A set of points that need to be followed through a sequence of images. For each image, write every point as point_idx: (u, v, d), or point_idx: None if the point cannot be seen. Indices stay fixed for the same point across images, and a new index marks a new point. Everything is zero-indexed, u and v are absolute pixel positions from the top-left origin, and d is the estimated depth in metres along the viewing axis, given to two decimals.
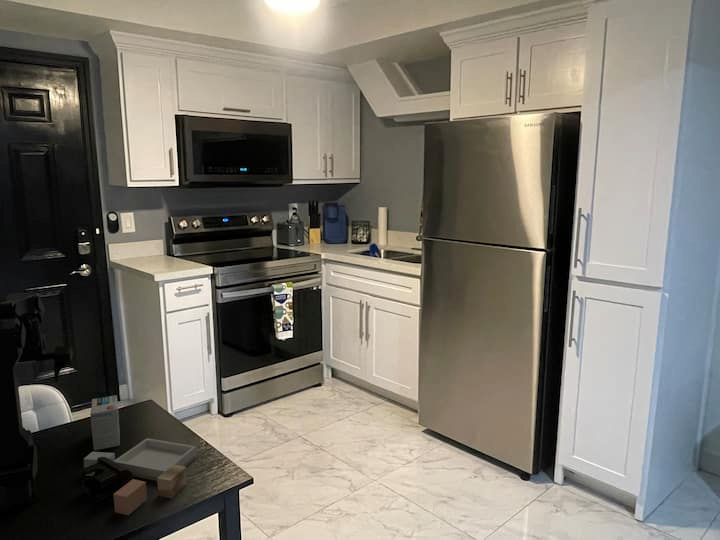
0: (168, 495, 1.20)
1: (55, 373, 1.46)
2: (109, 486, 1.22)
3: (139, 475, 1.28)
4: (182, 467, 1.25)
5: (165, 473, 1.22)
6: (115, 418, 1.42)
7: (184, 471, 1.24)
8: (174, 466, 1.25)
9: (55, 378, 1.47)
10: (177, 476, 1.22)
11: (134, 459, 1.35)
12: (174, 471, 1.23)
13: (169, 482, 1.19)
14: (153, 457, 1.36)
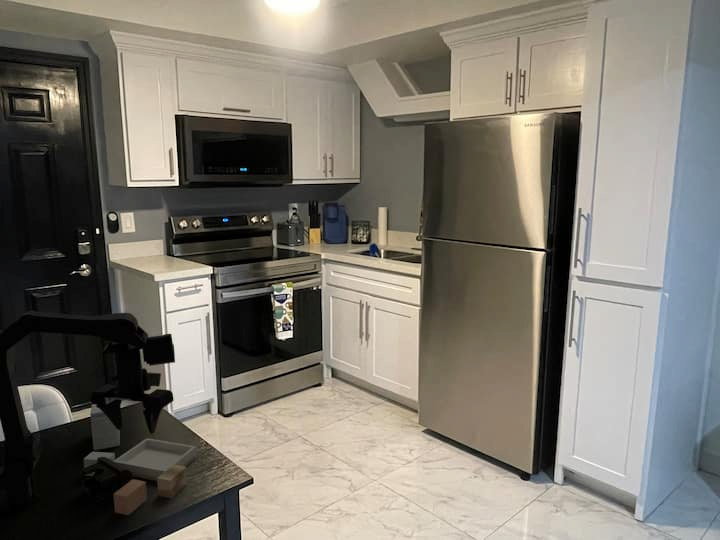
0: (168, 495, 1.20)
1: (146, 420, 1.20)
2: (109, 486, 1.22)
3: (139, 475, 1.28)
4: (182, 467, 1.25)
5: (165, 473, 1.22)
6: None
7: (184, 471, 1.24)
8: (174, 466, 1.25)
9: (148, 427, 1.21)
10: (178, 476, 1.22)
11: (134, 459, 1.35)
12: (174, 471, 1.23)
13: (169, 482, 1.19)
14: (153, 457, 1.36)
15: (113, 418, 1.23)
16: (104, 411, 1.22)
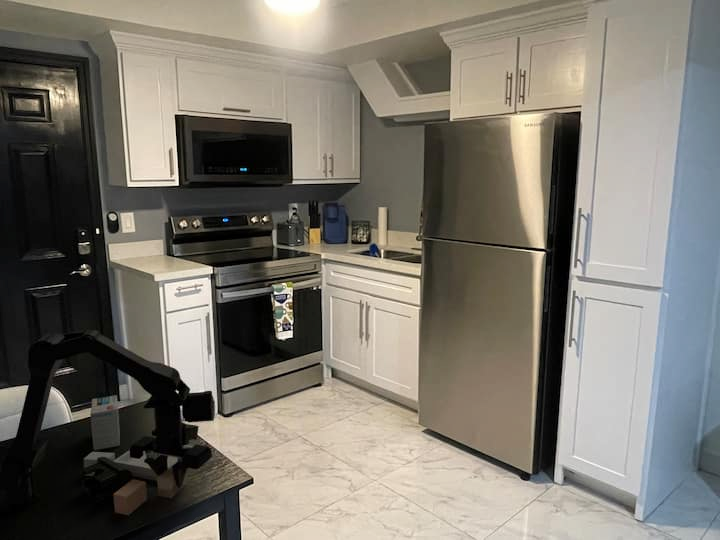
0: (168, 495, 1.20)
1: (175, 475, 1.20)
2: (109, 486, 1.22)
3: (139, 475, 1.28)
4: None
5: (165, 473, 1.22)
6: (115, 418, 1.42)
7: None
8: None
9: (176, 482, 1.21)
10: None
11: (134, 459, 1.35)
12: None
13: (169, 482, 1.19)
14: None
15: (160, 474, 1.22)
16: (152, 467, 1.21)
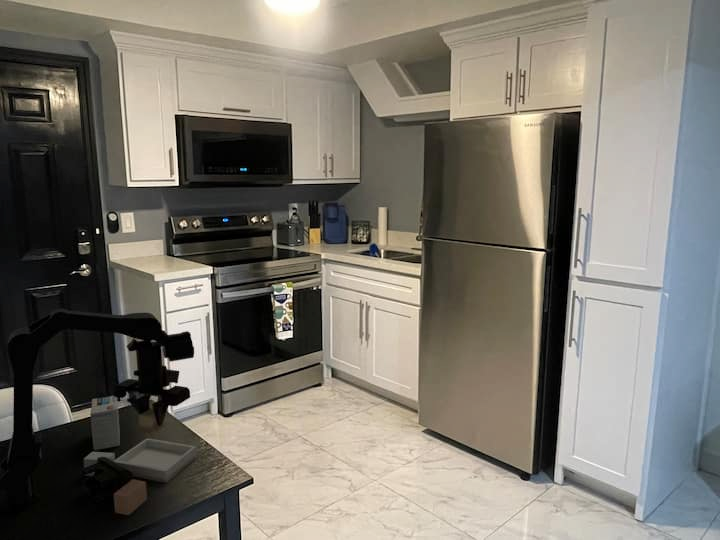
0: (149, 431, 1.28)
1: (155, 413, 1.28)
2: (109, 486, 1.22)
3: (139, 475, 1.28)
4: None
5: (147, 412, 1.30)
6: (115, 418, 1.42)
7: None
8: None
9: (156, 420, 1.29)
10: None
11: (134, 459, 1.35)
12: None
13: (149, 419, 1.28)
14: (153, 457, 1.36)
15: (142, 412, 1.30)
16: (134, 405, 1.29)
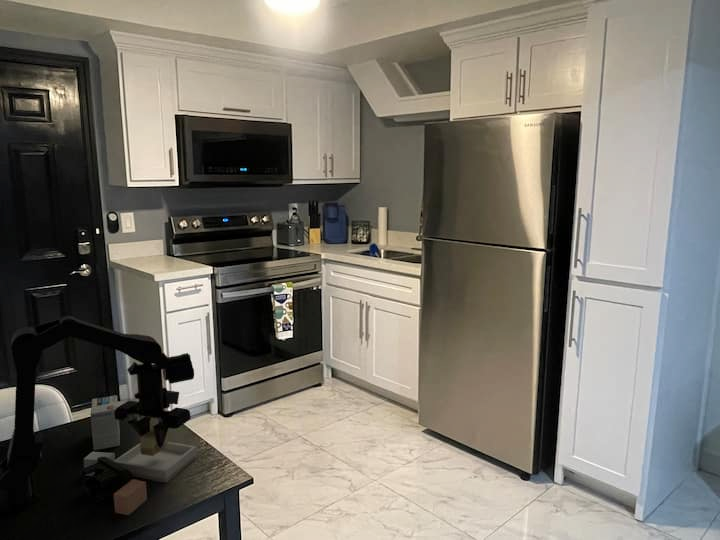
0: (150, 453, 1.30)
1: (156, 435, 1.30)
2: (109, 486, 1.22)
3: (139, 475, 1.28)
4: None
5: (147, 433, 1.32)
6: None
7: None
8: None
9: (157, 441, 1.31)
10: None
11: (134, 459, 1.35)
12: None
13: (150, 441, 1.29)
14: (153, 457, 1.36)
15: (143, 434, 1.32)
16: (135, 427, 1.31)
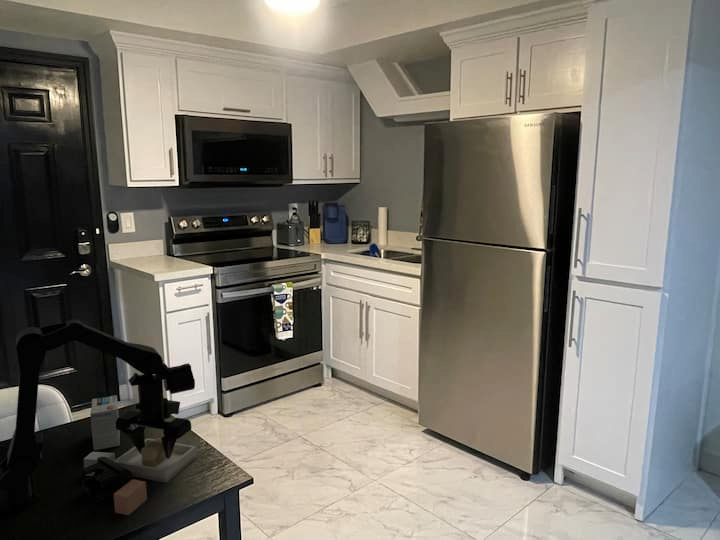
0: (151, 465, 1.31)
1: (164, 447, 1.30)
2: (109, 486, 1.22)
3: (139, 475, 1.28)
4: None
5: (148, 445, 1.33)
6: (115, 418, 1.42)
7: None
8: (157, 439, 1.36)
9: (165, 453, 1.31)
10: (160, 448, 1.33)
11: (134, 459, 1.35)
12: (157, 443, 1.34)
13: (152, 453, 1.30)
14: None
15: (137, 443, 1.33)
16: (129, 437, 1.32)
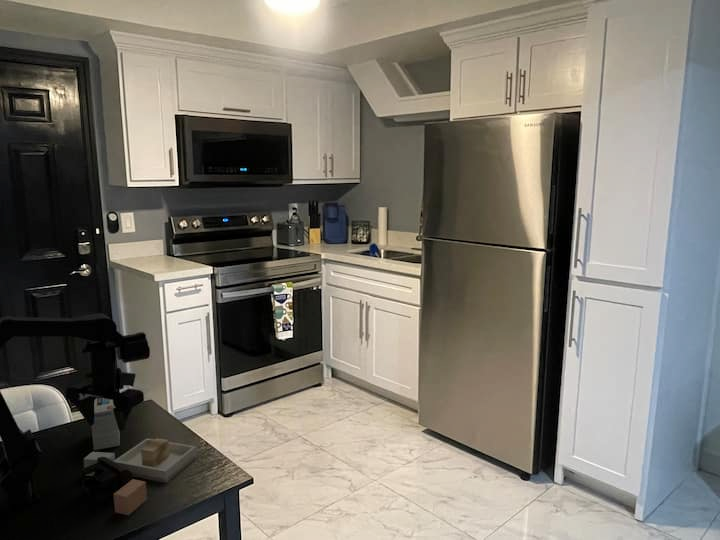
0: (151, 465, 1.31)
1: (116, 418, 1.24)
2: (109, 486, 1.22)
3: (139, 475, 1.28)
4: (164, 440, 1.35)
5: (148, 445, 1.33)
6: (115, 418, 1.42)
7: (166, 444, 1.35)
8: (157, 439, 1.36)
9: (118, 425, 1.26)
10: (160, 448, 1.33)
11: (134, 459, 1.35)
12: (157, 443, 1.34)
13: (152, 453, 1.30)
14: None
15: (85, 414, 1.28)
16: (77, 406, 1.27)
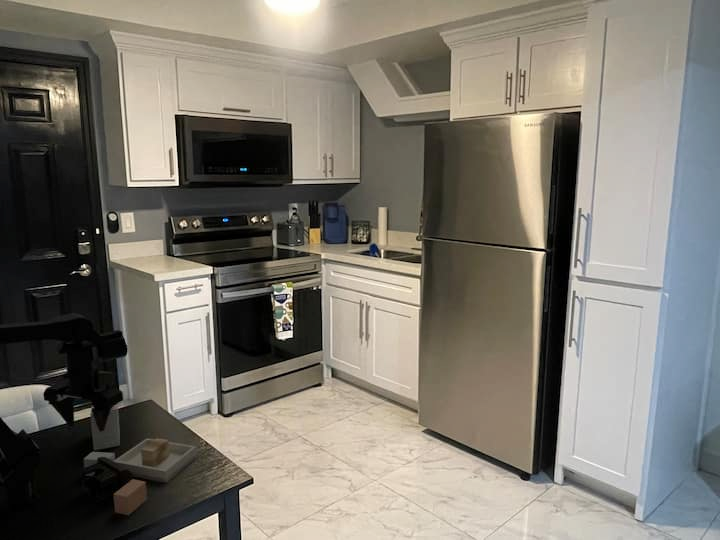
0: (151, 465, 1.31)
1: (95, 418, 1.23)
2: (109, 486, 1.22)
3: (139, 475, 1.28)
4: (164, 440, 1.35)
5: (148, 445, 1.33)
6: (115, 418, 1.42)
7: (166, 444, 1.35)
8: (157, 439, 1.36)
9: (97, 425, 1.24)
10: (160, 448, 1.33)
11: (134, 459, 1.35)
12: (157, 443, 1.34)
13: (152, 453, 1.30)
14: None
15: (65, 415, 1.27)
16: (56, 408, 1.26)
